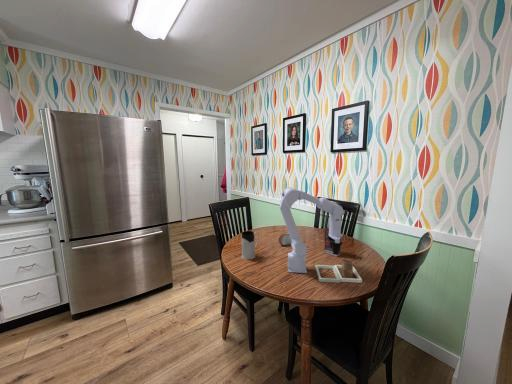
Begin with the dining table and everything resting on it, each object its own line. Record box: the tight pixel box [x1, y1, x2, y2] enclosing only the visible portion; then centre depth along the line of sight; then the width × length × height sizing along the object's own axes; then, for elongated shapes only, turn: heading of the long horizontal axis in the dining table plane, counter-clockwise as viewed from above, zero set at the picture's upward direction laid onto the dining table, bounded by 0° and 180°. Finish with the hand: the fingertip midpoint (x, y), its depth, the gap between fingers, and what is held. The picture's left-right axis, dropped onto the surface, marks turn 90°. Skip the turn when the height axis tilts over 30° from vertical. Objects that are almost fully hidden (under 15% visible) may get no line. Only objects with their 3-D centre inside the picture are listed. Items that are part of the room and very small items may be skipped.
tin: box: [278, 231, 291, 246], centre depth 146 cm, size 15×3×8 cm, turn 120°
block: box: [341, 259, 354, 278], centre depth 105 cm, size 4×4×7 cm
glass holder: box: [241, 230, 260, 260], centre depth 129 cm, size 9×14×15 cm, turn 137°
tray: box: [333, 264, 363, 284], centre depth 105 cm, size 10×14×2 cm
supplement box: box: [324, 226, 342, 257], centre depth 129 cm, size 9×5×16 cm, turn 40°
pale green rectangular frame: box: [314, 264, 341, 284], centre depth 105 cm, size 10×14×2 cm
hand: (334, 251), depth 111 cm, fingers open, 7 cm apart
